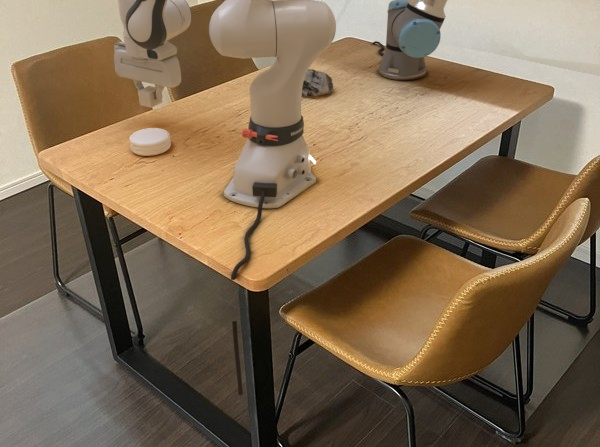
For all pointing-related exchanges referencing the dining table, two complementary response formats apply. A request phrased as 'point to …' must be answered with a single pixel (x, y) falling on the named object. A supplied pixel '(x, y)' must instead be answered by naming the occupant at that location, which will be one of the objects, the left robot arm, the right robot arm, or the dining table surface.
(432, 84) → the dining table surface
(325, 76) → the rock
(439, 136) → the dining table surface
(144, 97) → the light grey cube
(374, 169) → the dining table surface
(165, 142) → the white round disc
